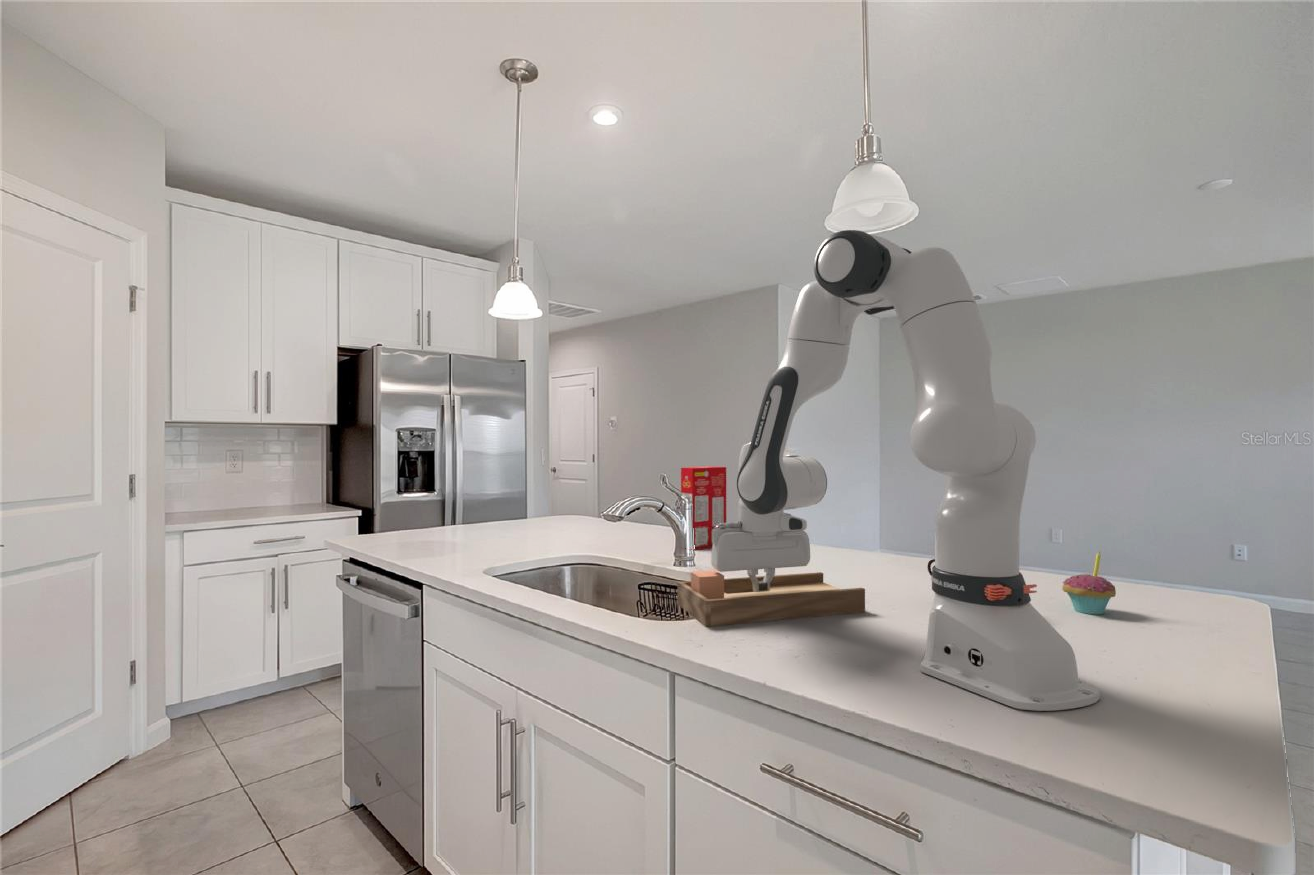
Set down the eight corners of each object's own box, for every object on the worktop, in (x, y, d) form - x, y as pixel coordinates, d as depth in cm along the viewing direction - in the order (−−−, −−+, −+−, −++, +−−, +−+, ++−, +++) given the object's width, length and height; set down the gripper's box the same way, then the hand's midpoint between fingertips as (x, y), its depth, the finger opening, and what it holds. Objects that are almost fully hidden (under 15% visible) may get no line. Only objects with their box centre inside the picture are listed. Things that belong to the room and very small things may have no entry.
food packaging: (714, 543, 203) (714, 466, 204) (726, 545, 199) (726, 467, 200) (681, 548, 194) (680, 467, 194) (692, 550, 190) (692, 468, 190)
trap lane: (865, 612, 121) (865, 588, 121) (705, 626, 111) (705, 601, 112) (820, 592, 136) (820, 572, 136) (677, 604, 127) (677, 581, 127)
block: (724, 601, 119) (724, 575, 119) (699, 603, 118) (699, 577, 118) (714, 595, 124) (714, 570, 124) (690, 597, 122) (690, 571, 122)
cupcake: (1099, 606, 125) (1098, 546, 125) (1126, 618, 117) (1126, 554, 117) (1053, 605, 126) (1053, 545, 126) (1078, 617, 117) (1077, 553, 117)
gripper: (718, 525, 117) (718, 598, 117) (814, 521, 123) (814, 591, 123) (705, 521, 123) (706, 591, 123) (798, 517, 129) (798, 584, 129)
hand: (761, 591), depth 123 cm, fingers closed
